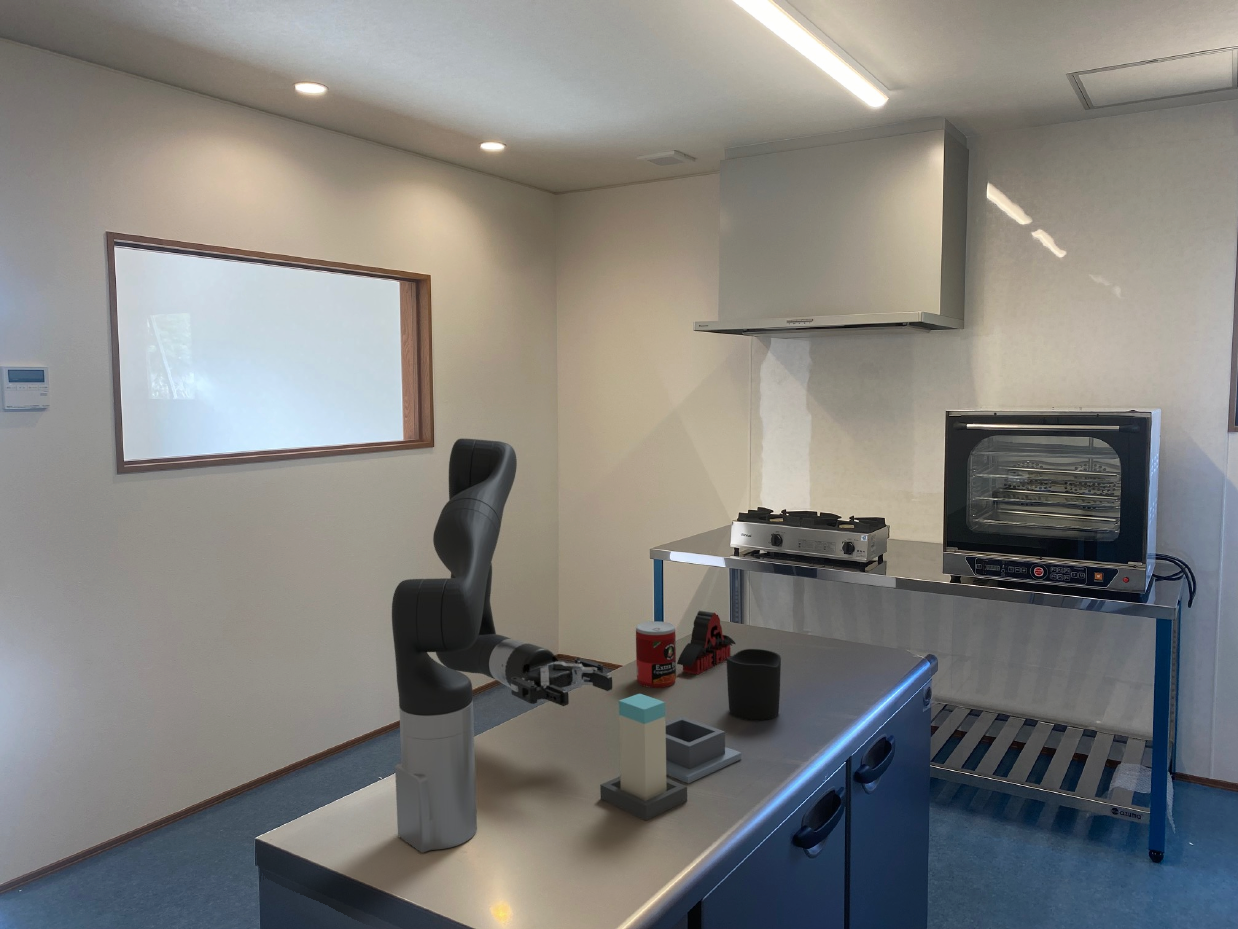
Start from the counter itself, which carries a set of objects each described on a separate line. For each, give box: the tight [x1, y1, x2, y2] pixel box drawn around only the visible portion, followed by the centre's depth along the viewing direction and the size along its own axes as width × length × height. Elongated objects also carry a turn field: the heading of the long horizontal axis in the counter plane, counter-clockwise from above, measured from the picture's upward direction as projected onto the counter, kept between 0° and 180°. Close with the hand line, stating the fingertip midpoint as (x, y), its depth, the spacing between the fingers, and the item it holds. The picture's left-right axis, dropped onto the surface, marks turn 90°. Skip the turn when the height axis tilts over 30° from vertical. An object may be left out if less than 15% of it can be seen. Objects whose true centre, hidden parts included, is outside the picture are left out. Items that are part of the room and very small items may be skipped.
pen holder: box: [725, 648, 782, 722], centre depth 155 cm, size 9×9×10 cm
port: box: [665, 716, 742, 784], centre depth 136 cm, size 12×12×4 cm
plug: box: [618, 693, 667, 801], centre depth 122 cm, size 4×5×14 cm
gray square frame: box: [599, 776, 688, 821], centre depth 122 cm, size 8×9×2 cm
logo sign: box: [676, 610, 736, 675], centre depth 182 cm, size 18×4×11 cm, turn 144°
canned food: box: [635, 621, 677, 689], centre depth 172 cm, size 8×8×11 cm
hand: (589, 691), depth 130 cm, fingers open, 8 cm apart
